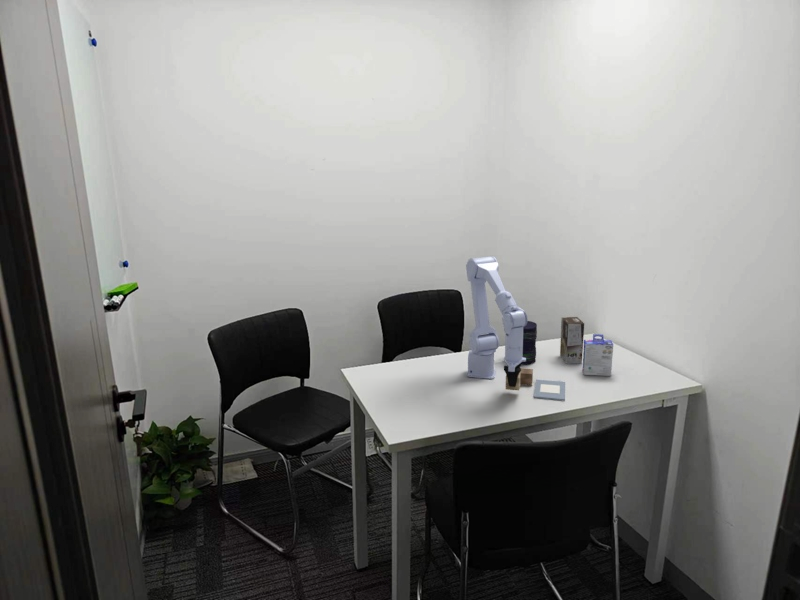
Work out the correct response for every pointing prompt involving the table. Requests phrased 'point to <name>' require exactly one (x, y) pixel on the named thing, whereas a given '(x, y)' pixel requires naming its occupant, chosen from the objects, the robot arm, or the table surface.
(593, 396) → the table surface
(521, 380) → the walnut cube
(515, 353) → the robot arm
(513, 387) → the oak cube
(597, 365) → the ink cartridge box
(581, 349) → the coffee box
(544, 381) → the board
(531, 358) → the storage jar
